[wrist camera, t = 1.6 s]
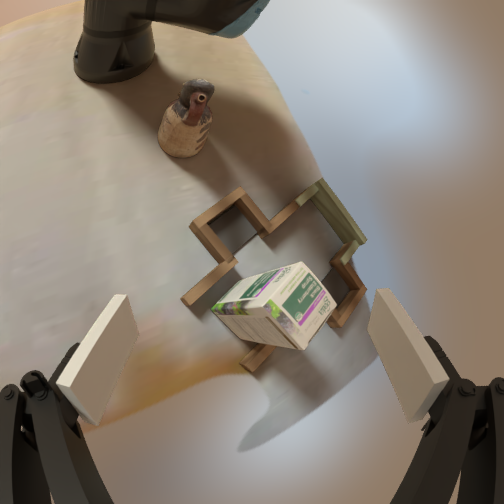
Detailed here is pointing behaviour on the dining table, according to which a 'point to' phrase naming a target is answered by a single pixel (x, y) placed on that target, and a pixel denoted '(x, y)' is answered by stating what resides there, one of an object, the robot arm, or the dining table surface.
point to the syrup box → (277, 307)
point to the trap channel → (254, 221)
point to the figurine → (187, 120)
